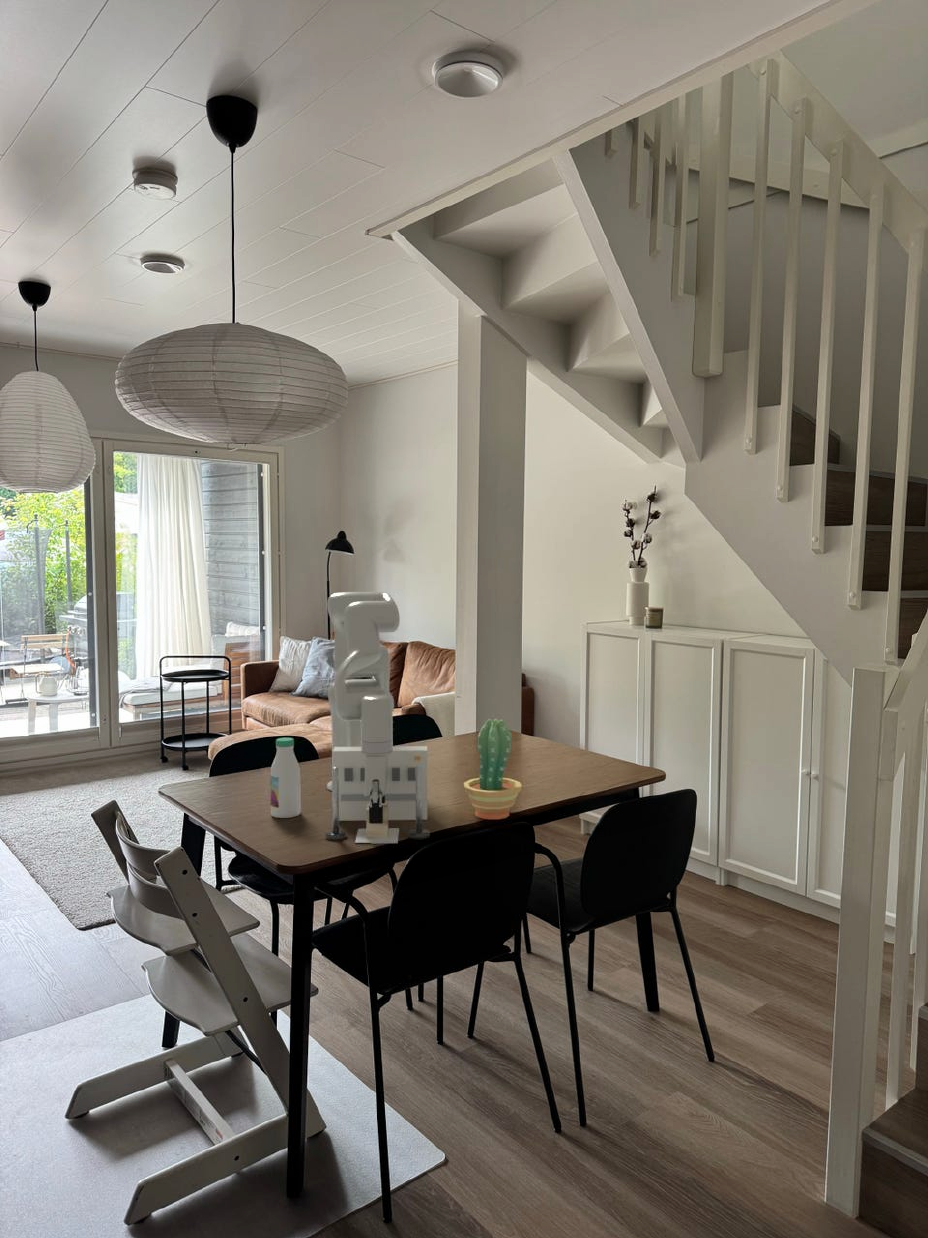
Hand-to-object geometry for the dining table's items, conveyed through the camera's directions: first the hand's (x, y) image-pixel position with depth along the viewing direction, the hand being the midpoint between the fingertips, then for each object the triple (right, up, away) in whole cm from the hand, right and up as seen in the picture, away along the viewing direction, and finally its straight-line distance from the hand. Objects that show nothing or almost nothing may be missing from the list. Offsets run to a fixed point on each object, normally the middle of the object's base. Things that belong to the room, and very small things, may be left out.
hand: (377, 816), depth 207 cm
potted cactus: (+28, -4, +18) cm, 34 cm away
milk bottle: (-26, -4, +18) cm, 32 cm away
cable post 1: (-10, -5, 0) cm, 11 cm away
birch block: (0, -4, 0) cm, 4 cm away
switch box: (-1, -4, +16) cm, 16 cm away
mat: (0, -5, 0) cm, 5 cm away
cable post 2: (+10, -5, 0) cm, 11 cm away
